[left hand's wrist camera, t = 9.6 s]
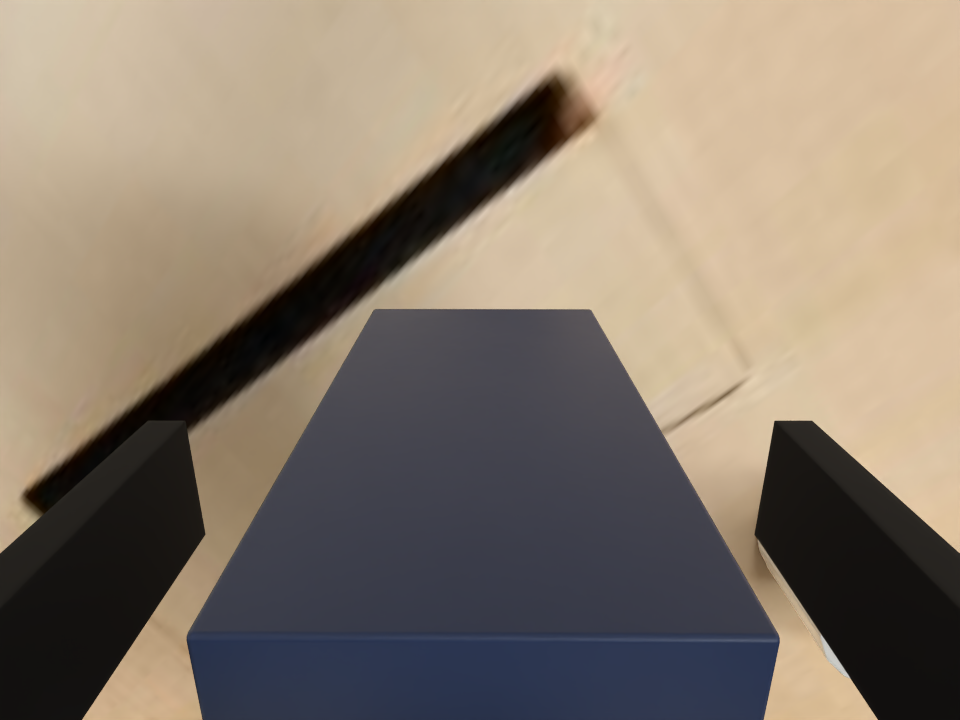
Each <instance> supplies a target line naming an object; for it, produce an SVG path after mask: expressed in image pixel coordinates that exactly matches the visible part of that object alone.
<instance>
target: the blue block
mask: <svg viewBox="0 0 960 720" xmlns="http://www.w3.org/2000/svg"><path fill="white" fill-rule="evenodd" d="M779 643H780V638H779V635H778V633H777V631H776V629H775V628H774V626H773V624H772V623H771V621H770V619H769V617H768V616H767V614H766V612H765V610H764V609H763V607H762V605H761V603H760V602H759V600H758V598H757V597H756V595H755V593H754V591H753V590H752V588H751V586H750V584H749V583H748V581H747V579H746V578H745V576H744V574H743V572H742V571H741V569H740V567H739V565H738V564H737V562H736V560H735V558H734V557H733V555H732V553H731V552H730V550H729V548H728V546H727V545H726V543H725V541H724V539H723V538H722V536H721V534H720V532H719V531H718V529H717V527H716V526H715V524H714V522H713V520H712V519H711V517H710V515H709V513H708V512H707V510H706V508H705V507H704V505H703V503H702V501H701V500H700V498H699V496H698V494H697V493H696V491H695V489H694V487H693V486H692V484H691V482H690V481H689V479H688V477H687V475H686V474H685V472H684V470H683V468H682V467H681V465H680V463H679V462H678V460H677V458H676V456H675V455H674V453H673V451H672V449H671V448H670V446H669V444H668V442H667V441H666V439H665V437H664V436H663V434H662V432H661V430H660V429H659V427H658V425H657V423H656V422H655V420H654V418H653V416H652V415H651V413H650V411H649V410H648V408H647V406H646V404H645V403H644V401H643V399H642V397H641V396H640V394H639V392H638V391H637V389H636V387H635V385H634V384H633V382H632V380H631V378H630V377H629V375H628V373H627V371H626V370H625V368H624V366H623V365H622V363H621V361H620V359H619V358H618V356H617V354H616V352H615V351H614V349H613V347H612V346H611V344H610V342H609V340H608V339H607V337H606V335H605V333H604V332H603V330H602V328H601V326H600V325H599V323H598V321H597V320H596V318H595V316H594V314H593V313H592V311H591V310H565V309H375V310H374V311H373V312H372V314H371V316H370V318H369V319H368V321H367V323H366V325H365V326H364V328H363V330H362V332H361V333H360V335H359V337H358V339H357V340H356V342H355V344H354V345H353V347H352V349H351V351H350V352H349V354H348V356H347V358H346V359H345V361H344V363H343V365H342V366H341V368H340V370H339V371H338V373H337V375H336V377H335V378H334V380H333V382H332V384H331V385H330V387H329V389H328V391H327V392H326V394H325V396H324V398H323V399H322V401H321V403H320V404H319V406H318V408H317V410H316V411H315V413H314V415H313V417H312V418H311V420H310V422H309V424H308V425H307V427H306V429H305V430H304V432H303V434H302V436H301V437H300V439H299V441H298V443H297V444H296V446H295V448H294V450H293V451H292V453H291V455H290V457H289V458H288V460H287V462H286V463H285V465H284V467H283V469H282V470H281V472H280V474H279V476H278V477H277V479H276V481H275V483H274V484H273V486H272V488H271V489H270V491H269V493H268V495H267V496H266V498H265V500H264V502H263V503H262V505H261V507H260V509H259V510H258V512H257V514H256V516H255V517H254V519H253V521H252V522H251V524H250V526H249V528H248V529H247V531H246V533H245V535H244V536H243V538H242V540H241V542H240V543H239V545H238V547H237V549H236V550H235V552H234V554H233V555H232V557H231V559H230V561H229V562H228V564H227V566H226V568H225V569H224V571H223V573H222V575H221V576H220V578H219V580H218V581H217V583H216V585H215V587H214V588H213V590H212V592H211V594H210V595H209V597H208V599H207V601H206V602H205V604H204V606H203V608H202V609H201V611H200V613H199V614H198V616H197V618H196V620H195V621H194V623H193V625H192V627H191V628H190V630H189V632H188V634H187V645H188V650H189V654H190V659H191V664H192V669H193V674H194V679H195V684H196V689H197V694H198V699H199V704H200V709H201V714H202V719H203V720H764V715H765V710H766V705H767V701H768V696H769V691H770V686H771V681H772V677H773V672H774V667H775V662H776V657H777V653H778V648H779Z"/></svg>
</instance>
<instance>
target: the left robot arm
mask: <svg viewBox="0 0 960 720" xmlns="http://www.w3.org/2000/svg"><path fill="white" fill-rule="evenodd" d="M204 536H205V529H204V524H203V518H202V512H201V507H200V501H199V495H198V490H197V484H196V478H195V473H194V467H193V461H192V456H191V450H190V444H189V439H188V433H187V427H186V422H185V421H147V422H146V423H145V424H144V425H143V426H142V427H141V428H139V429H138V430H137V431H136V432H135V433H134V434H133V435H132V436H131V437H129V438H128V439H127V440H126V441H125V442H124V443H123V444H122V445H120V446H119V447H118V448H117V449H116V450H115V451H114V452H113V453H112V454H110V455H109V456H108V457H107V458H106V459H105V460H104V461H103V462H102V463H100V464H99V465H98V466H97V467H96V468H95V469H94V470H93V471H92V472H90V473H89V474H88V475H87V476H86V477H85V478H84V479H83V480H82V481H80V482H79V483H78V484H77V485H76V486H75V487H74V488H73V489H72V490H70V491H69V492H68V493H67V494H66V495H65V496H64V497H63V498H62V499H60V500H59V501H58V502H57V503H56V504H55V505H54V506H53V507H52V508H50V509H49V510H48V511H47V512H46V513H45V514H44V515H43V516H42V517H40V518H39V519H38V520H37V521H36V522H35V523H34V524H33V525H32V526H30V527H29V528H28V529H27V530H26V531H25V532H24V533H23V534H21V535H20V536H19V537H18V538H17V539H16V540H15V541H14V542H13V543H11V544H10V545H9V546H8V547H7V548H6V549H5V550H4V551H3V552H1V553H0V720H82V719H83V717H84V716H85V714H86V713H87V711H88V710H89V708H90V707H91V705H92V704H93V702H94V701H95V699H96V698H97V696H98V695H99V693H100V692H101V690H102V689H103V687H104V686H105V684H106V683H107V681H108V680H109V678H110V677H111V675H112V674H113V672H114V671H115V669H116V668H117V666H118V665H119V663H120V662H121V660H122V659H123V657H124V656H125V654H126V653H127V651H128V650H129V648H130V647H131V645H132V644H133V642H134V641H135V639H136V638H137V636H138V635H139V633H140V632H141V630H142V629H143V627H144V626H145V624H146V623H147V621H148V620H149V618H150V617H151V615H152V614H153V612H154V611H155V609H156V608H157V606H158V605H159V603H160V602H161V600H162V599H163V597H164V596H165V594H166V593H167V591H168V590H169V588H170V587H171V585H172V584H173V582H174V581H175V579H176V578H177V576H178V575H179V573H180V572H181V570H182V569H183V567H184V566H185V564H186V563H187V561H188V560H189V558H190V557H191V555H192V554H193V552H194V551H195V549H196V548H197V546H198V545H199V543H200V542H201V540H202V539H203V537H204ZM755 536H756V537H757V539H758V540H759V542H760V543H761V545H762V546H763V548H764V549H765V551H766V552H767V554H768V555H769V557H770V558H771V560H772V561H773V563H774V564H775V566H776V567H777V569H778V570H779V572H780V573H781V575H782V576H783V578H784V579H785V581H786V582H787V584H788V585H789V587H790V588H791V590H792V591H793V593H794V594H795V596H796V597H797V599H798V600H799V602H800V603H801V605H802V606H803V608H804V609H805V611H806V612H807V614H808V615H809V617H810V618H811V620H812V621H813V623H814V624H815V626H816V627H817V629H818V630H819V632H820V633H821V635H822V636H823V638H824V639H825V641H826V642H827V644H828V645H829V647H830V648H831V650H832V651H833V653H834V654H835V656H836V657H837V659H838V660H839V662H840V663H841V665H842V666H843V668H844V669H845V671H846V672H847V674H848V675H849V677H850V678H851V680H852V681H853V683H854V684H855V686H856V687H857V689H858V690H859V692H860V693H861V695H862V696H863V698H864V699H865V701H866V702H867V704H868V705H869V707H870V708H871V710H872V711H873V713H874V714H875V716H876V717H877V719H878V720H960V553H959V552H957V551H956V550H955V549H954V548H953V547H952V546H951V545H950V544H948V543H947V542H946V541H945V540H944V539H943V538H942V537H941V536H940V535H938V534H937V533H936V532H935V531H934V530H933V529H932V528H931V527H930V526H928V525H927V524H926V523H925V522H924V521H923V520H922V519H921V518H920V517H918V516H917V515H916V514H915V513H914V512H913V511H912V510H911V509H910V508H908V507H907V506H906V505H905V504H904V503H903V502H902V501H901V500H900V499H898V498H897V497H896V496H895V495H894V494H893V493H892V492H891V491H890V490H888V489H887V488H886V487H885V486H884V485H883V484H882V483H881V482H880V481H878V480H877V479H876V478H875V477H874V476H873V475H872V474H871V473H870V472H868V471H867V470H866V469H865V468H864V467H863V466H862V465H861V464H860V463H858V462H857V461H856V460H855V459H854V458H853V457H852V456H851V455H850V454H848V453H847V452H846V451H845V450H844V449H843V448H842V447H841V446H839V445H838V444H837V443H836V442H835V441H834V440H833V439H832V438H831V437H829V436H828V435H827V434H826V433H825V432H824V431H823V430H822V429H821V428H819V427H818V426H817V425H816V424H815V423H814V422H813V421H775V422H774V427H773V433H772V439H771V444H770V450H769V456H768V461H767V467H766V473H765V478H764V484H763V490H762V495H761V501H760V507H759V512H758V518H757V524H756V529H755Z"/></svg>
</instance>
